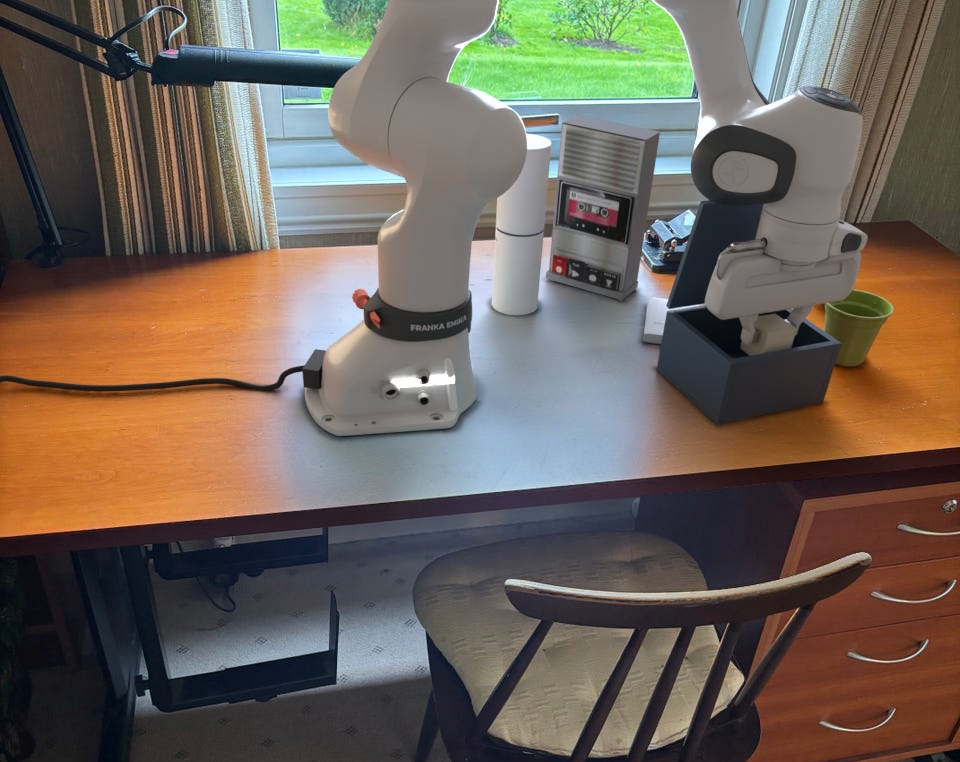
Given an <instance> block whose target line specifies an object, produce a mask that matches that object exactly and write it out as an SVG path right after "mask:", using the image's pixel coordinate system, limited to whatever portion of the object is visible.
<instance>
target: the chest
mask: <svg viewBox="0 0 960 762" xmlns="http://www.w3.org/2000/svg"><path fill="white" fill-rule="evenodd" d="M793 309H794V308H793ZM793 309H787V310H780V311H774V312H768V313H762V314H759V315H758V316H763V315H770V314H777V315H778V316H779V317H781V318H782V319H784V320H785V319H787V318H788V317H789V315H790V314H791V312H792V311H793ZM742 329H743V327H742V325H741V322H740V319H739V317H738V318H731V319H725V320H722V319H719V318H718V317H716V316H715V315H714V314H712V313H711V312H710V311H709V310H708V309H707V307H706V305H705V304H701V306H695V307H689V308H682V309H676V310H670V311H667V314H666V320H665V325H664V331H663V336H662V342H661V344H660V348H659V353H658V359H657V363H656V370H657V371H658V372H659V373H660V374H661V375H662V376H663V377H664V378H666V379H667V381H669V382H670V383H671V384H672V385H673V386H674V387H675V388H676V389H677V390H679V391H680V392H681V393H682V394H683V395H684V396H685V397H686V398H687V399H688V400H689V401H690V402H692V403H693V405H694V406H696V407H697V408H698V409H699V410H700V411H701V412H702V413H704V415H706V416H707V417H708V419H710V420H711V421H712V422H713V423H714V424H715V425H723V424H728V423H733V422H737V421H742V420H747V419H752V418H756V417H762V416H766V415H771V414H775V413H780V412H784V411H785V412H786V411H791V410H794V409H800V408H804V407H809V406H814V405H819V404H823V403H824V401H825V398H826V395H827V392H828V390H829V389H828V388H829V385H830V382H831V379H832V376H833V372H834V370H835V366H836V360H837V357H838V354H839V351H840V347H841V344H842V343H841V342H839V341H838V340H836V339H835V338H833V337H832V336H830V335H829V334H828V333H826V332H825V331H824V329H822V328H821V327H818V326H817V325H816V324H814V322H811V321H810V320H809V319H807V317H806V318H805V320H804V321H803V322H802V323H801V324H800V326H799V329H798V333H797V335H796V336H794V340H793V343H792V347H791V348H790V349H784V350H779V351H773V352H768V353H762V354H757V355H751V356H749V355H748V354H747V353H746V352H744V351H743V350H742V349H741V348H740V346H741V342H742V340H741V333H742Z"/></svg>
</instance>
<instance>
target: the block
mask: <svg viewBox="0 0 960 762" xmlns="http://www.w3.org/2000/svg"><path fill="white" fill-rule="evenodd" d="M753 324H754V327H755V328H756V329H758V330H760V331H761V332H760V336H759V337H758V339H759V340H758V342H756V343H750V344H746V343H745V342H743V341H742V342H741V346H740V348H741V349H742V350H743V351H744V352H746V353H747V354H748V355H749V356H751V355H757V354H762V353H768V352H773V351H779V350H784V349H790V348H791V347H792V343H793V340H794V336H795V333H796V328H795V327H793V326H792V325H791V324H789V323H788V322H786V321H785V320H784V319H782V318H781V317H779V316H778V315H777V314H770V315H763V316H758V318H757V320H756V321H753Z"/></svg>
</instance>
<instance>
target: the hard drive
mask: <svg viewBox="0 0 960 762" xmlns="http://www.w3.org/2000/svg"><path fill="white" fill-rule="evenodd" d="M668 299H669V298H664V297H663V298H661V297H654V296H653V297H652V296H649V297H648V299H647V304H646V311H645V321H644V329H643V337H642V341H643V342H644V343H647V344H655V345H656V344H657V345H661V342H662V336H663V331H664V325H665V320H666V314H667V311H670V310H676V309H682V308H689V307H695V306H701V305H702V304H699V305H692V306H686V307H680V308H673V309H668V307H667V306H666V305H667V302H668Z"/></svg>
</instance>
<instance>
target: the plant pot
mask: <svg viewBox="0 0 960 762" xmlns="http://www.w3.org/2000/svg"><path fill="white" fill-rule="evenodd" d="M894 311H895V307H894V306H893V304H892V303H891V302H890V301H888V299H886V298H884V297H882V296H880V295H879V294H875V293H873V292H869V291H864V290H860V289H853V290H852V292H851V293H850V294H849V295H848V296H847V297H846V298H845V299H844V300H842V301H836V302H829V303H825V307H824V313H825V315H824V316H825V317H824V325H823V331H825V332H826V333H828V334H829V335H830V336H832V337H833V338H835V339H836V340H838V341H839V342H841V343H842V344H841V347H840V351H839V354H838V357H837V360H836V363H835V365H837V366H840V367H841V366H842V367H857V366H860V364H863V363H864V362H865V360H866V358H867V356H868V354H869V353H870V350H871V348H872V346H873V344H874V343H875V340H876V338H877V336H878V334H879V332H880V331H881V328H882V326H883V325H884V324H885V323H886V322H887V320H888V318H889V317H891V316H892V315H893V314H894Z"/></svg>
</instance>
